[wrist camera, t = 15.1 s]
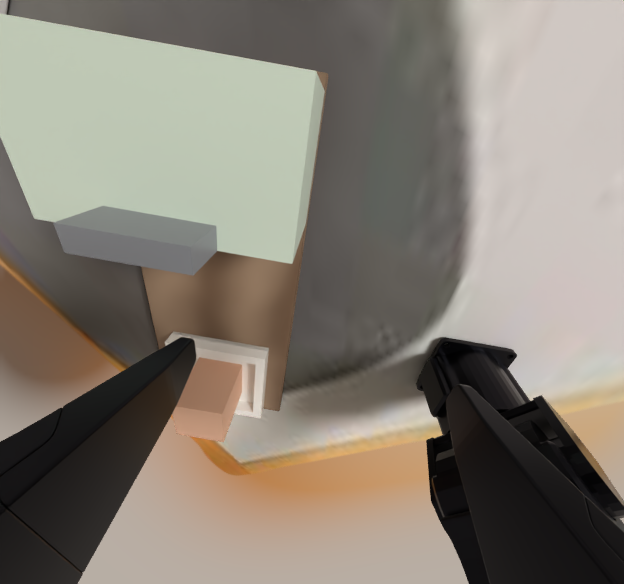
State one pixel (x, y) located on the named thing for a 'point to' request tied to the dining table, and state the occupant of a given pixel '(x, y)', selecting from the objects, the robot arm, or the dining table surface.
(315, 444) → the dining table surface
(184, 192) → the cover
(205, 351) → the dish
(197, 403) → the block
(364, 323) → the dining table surface
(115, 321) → the dining table surface
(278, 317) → the board
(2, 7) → the jar
